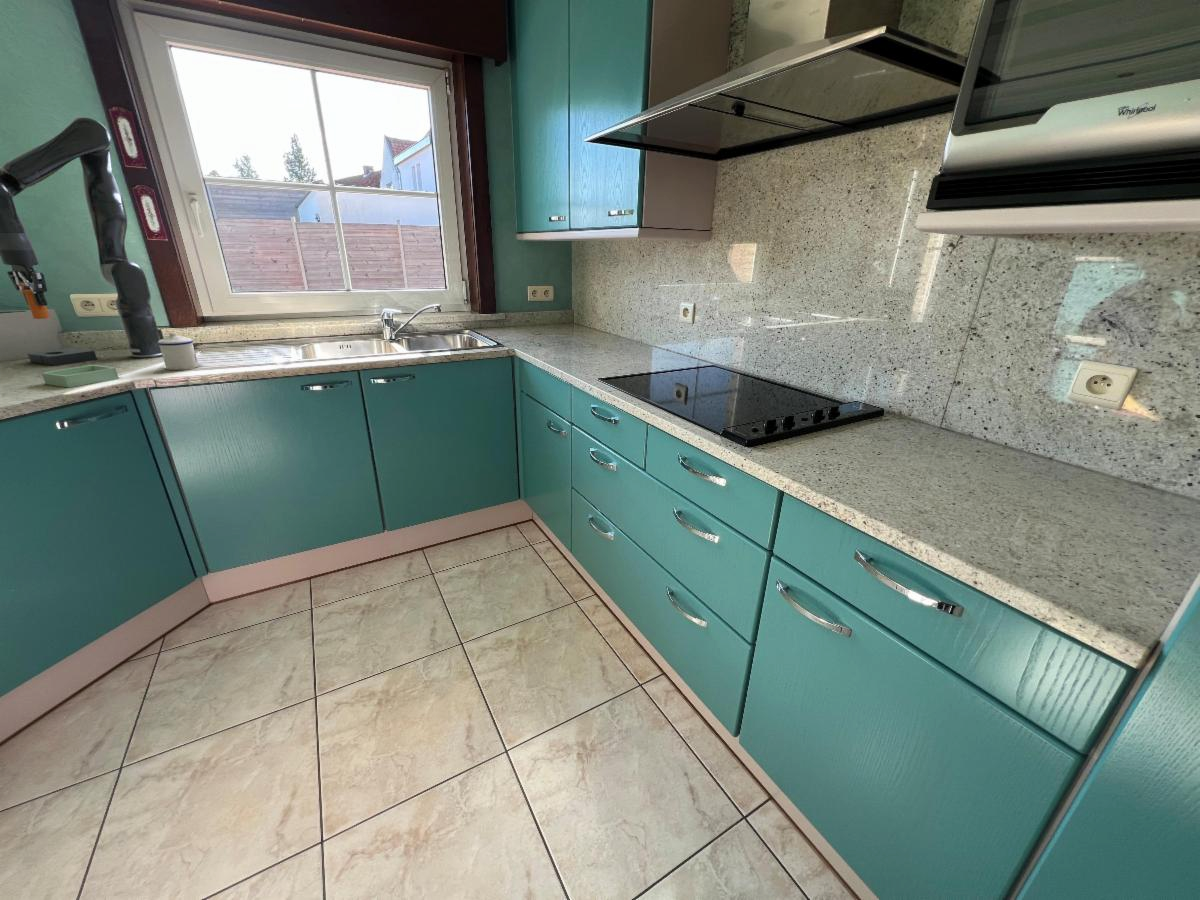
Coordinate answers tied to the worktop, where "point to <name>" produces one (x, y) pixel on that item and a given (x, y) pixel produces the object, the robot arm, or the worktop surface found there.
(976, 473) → the worktop surface
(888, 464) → the worktop surface
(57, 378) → the tray
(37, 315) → the plug
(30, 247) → the robot arm
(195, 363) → the teacup with lid
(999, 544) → the worktop surface
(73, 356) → the drain plate
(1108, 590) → the worktop surface
